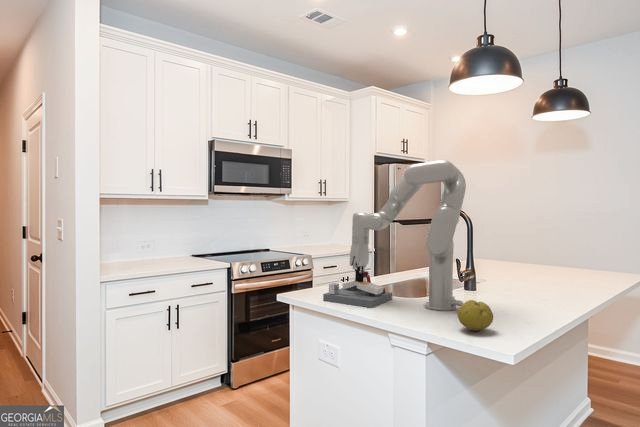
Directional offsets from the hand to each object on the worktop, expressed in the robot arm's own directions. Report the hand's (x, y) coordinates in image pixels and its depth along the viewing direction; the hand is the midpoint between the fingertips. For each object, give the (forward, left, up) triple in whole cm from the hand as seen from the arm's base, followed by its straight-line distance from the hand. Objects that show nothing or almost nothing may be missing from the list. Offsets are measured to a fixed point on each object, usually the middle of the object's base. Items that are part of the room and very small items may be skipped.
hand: (359, 281), depth 187 cm
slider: (+9, +7, -5) cm, 12 cm away
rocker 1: (+5, -6, -3) cm, 9 cm away
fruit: (-54, +19, -9) cm, 58 cm away
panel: (+1, 0, -8) cm, 8 cm away
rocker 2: (-5, 0, -3) cm, 6 cm away
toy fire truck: (+8, -18, -9) cm, 21 cm away
